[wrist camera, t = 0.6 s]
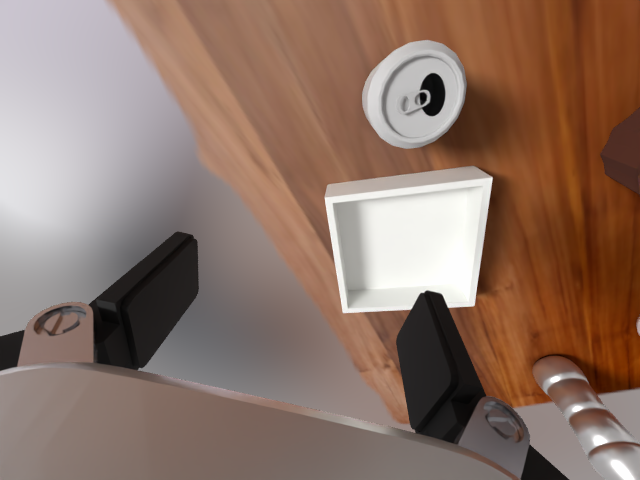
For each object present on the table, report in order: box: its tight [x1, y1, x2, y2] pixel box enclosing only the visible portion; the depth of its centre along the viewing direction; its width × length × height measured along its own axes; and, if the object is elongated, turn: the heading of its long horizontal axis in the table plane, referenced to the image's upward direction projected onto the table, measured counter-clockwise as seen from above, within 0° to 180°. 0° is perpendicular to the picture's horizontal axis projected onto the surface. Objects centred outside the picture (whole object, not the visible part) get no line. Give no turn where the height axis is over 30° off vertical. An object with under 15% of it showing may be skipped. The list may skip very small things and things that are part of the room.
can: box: [362, 40, 467, 148], centre depth 25 cm, size 8×8×12 cm
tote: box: [325, 166, 493, 313], centre depth 36 cm, size 18×18×5 cm
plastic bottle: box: [533, 356, 640, 480], centre depth 39 cm, size 6×7×20 cm
